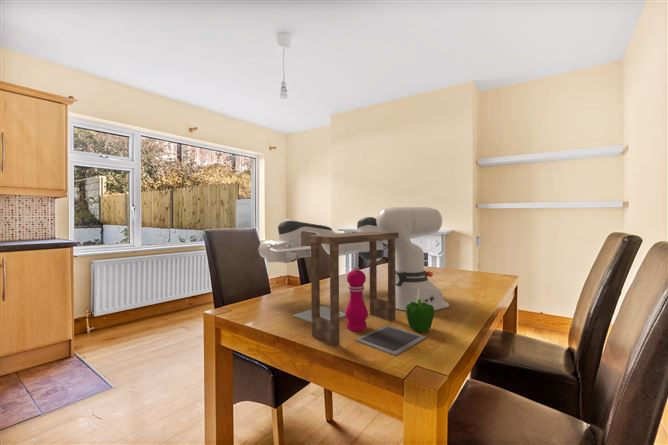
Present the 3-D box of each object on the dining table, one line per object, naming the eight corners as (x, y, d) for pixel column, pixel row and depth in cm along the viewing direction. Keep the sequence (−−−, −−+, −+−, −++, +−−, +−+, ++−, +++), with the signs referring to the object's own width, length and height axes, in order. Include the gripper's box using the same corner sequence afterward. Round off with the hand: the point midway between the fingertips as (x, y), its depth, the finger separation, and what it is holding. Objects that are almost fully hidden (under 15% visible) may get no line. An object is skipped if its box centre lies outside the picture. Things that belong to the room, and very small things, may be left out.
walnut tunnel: (308, 335, 91) (307, 235, 90) (371, 312, 112) (370, 231, 112) (336, 347, 83) (336, 237, 82) (398, 320, 104) (398, 232, 103)
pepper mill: (366, 332, 93) (366, 267, 93) (343, 331, 95) (343, 266, 94) (368, 324, 100) (368, 263, 100) (347, 323, 102) (346, 263, 101)
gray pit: (354, 340, 88) (354, 338, 88) (386, 325, 99) (386, 324, 99) (395, 355, 78) (395, 354, 78) (426, 337, 89) (426, 336, 89)
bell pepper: (413, 323, 101) (412, 293, 101) (437, 328, 96) (437, 297, 96) (401, 330, 95) (401, 298, 95) (426, 336, 90) (426, 303, 89)
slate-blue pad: (293, 315, 110) (293, 314, 110) (322, 307, 119) (322, 306, 119) (319, 325, 100) (319, 324, 100) (348, 315, 109) (348, 314, 109)
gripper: (304, 256, 132) (326, 260, 122) (263, 262, 117) (284, 266, 107) (304, 242, 131) (326, 244, 122) (263, 246, 117) (284, 248, 107)
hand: (306, 254), depth 114 cm, fingers open, 8 cm apart
